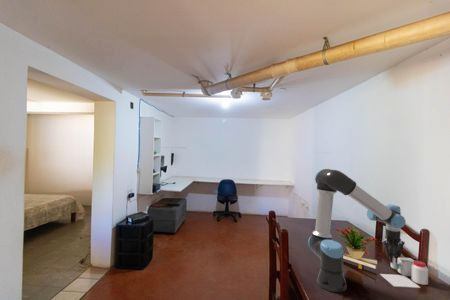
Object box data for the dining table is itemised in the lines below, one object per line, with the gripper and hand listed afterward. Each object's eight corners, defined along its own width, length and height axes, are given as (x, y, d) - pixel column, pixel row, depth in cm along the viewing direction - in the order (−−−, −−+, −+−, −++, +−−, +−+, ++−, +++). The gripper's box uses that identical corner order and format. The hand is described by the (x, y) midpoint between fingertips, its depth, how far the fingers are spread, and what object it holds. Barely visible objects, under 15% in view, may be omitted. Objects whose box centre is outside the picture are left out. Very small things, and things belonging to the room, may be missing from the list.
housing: (403, 275, 148) (403, 261, 149) (397, 271, 154) (397, 257, 155) (417, 276, 148) (417, 262, 148) (410, 271, 154) (410, 257, 154)
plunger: (396, 270, 150) (396, 264, 150) (392, 267, 154) (392, 261, 154) (413, 271, 149) (413, 264, 149) (409, 268, 153) (409, 262, 153)
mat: (394, 286, 136) (394, 286, 136) (380, 274, 149) (380, 273, 149) (420, 288, 134) (420, 287, 135) (403, 275, 148) (403, 275, 148)
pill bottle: (411, 276, 148) (411, 258, 148) (428, 281, 143) (427, 262, 143) (411, 281, 142) (411, 262, 142) (428, 286, 137) (428, 266, 137)
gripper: (385, 231, 149) (385, 269, 149) (408, 232, 148) (408, 270, 148) (379, 227, 157) (378, 264, 156) (400, 228, 156) (400, 265, 155)
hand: (393, 267), depth 152 cm, fingers closed
